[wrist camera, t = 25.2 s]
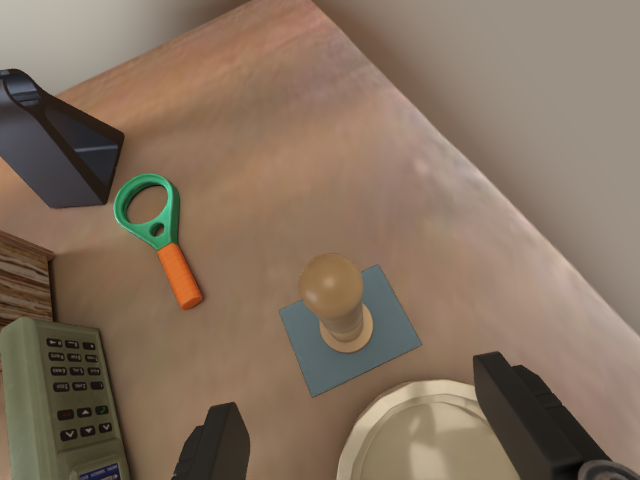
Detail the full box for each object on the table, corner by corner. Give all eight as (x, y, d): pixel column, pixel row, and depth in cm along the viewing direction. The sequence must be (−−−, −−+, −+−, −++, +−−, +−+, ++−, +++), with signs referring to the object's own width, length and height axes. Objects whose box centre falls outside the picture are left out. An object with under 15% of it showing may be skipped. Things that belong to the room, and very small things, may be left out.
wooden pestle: (358, 293, 27) (351, 215, 14) (382, 340, 25) (397, 299, 13) (313, 314, 27) (264, 255, 14) (334, 363, 25) (300, 346, 12)
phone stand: (76, 139, 38) (-40, 42, 27) (125, 134, 38) (25, 33, 27) (52, 209, 35) (-93, 130, 24) (105, 205, 34) (-19, 122, 23)
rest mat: (378, 265, 28) (378, 263, 28) (421, 345, 25) (422, 344, 25) (279, 311, 28) (278, 310, 27) (312, 397, 25) (311, 397, 24)
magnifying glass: (113, 199, 34) (101, 190, 33) (165, 168, 35) (156, 159, 33) (166, 325, 28) (154, 322, 27) (228, 286, 29) (220, 280, 27)
